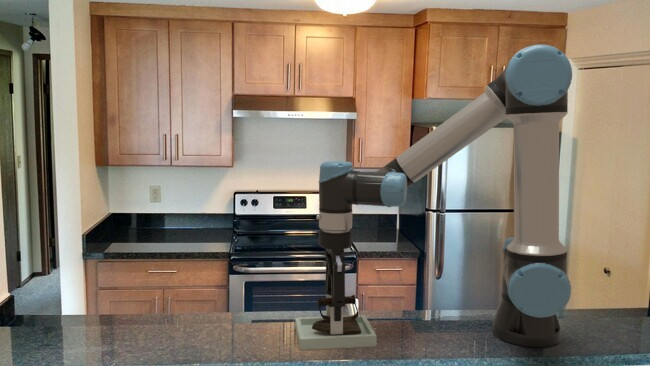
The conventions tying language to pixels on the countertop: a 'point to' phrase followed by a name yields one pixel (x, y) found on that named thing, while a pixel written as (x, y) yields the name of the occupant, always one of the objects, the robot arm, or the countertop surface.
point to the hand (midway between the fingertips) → (334, 327)
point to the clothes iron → (348, 322)
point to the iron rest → (333, 335)
